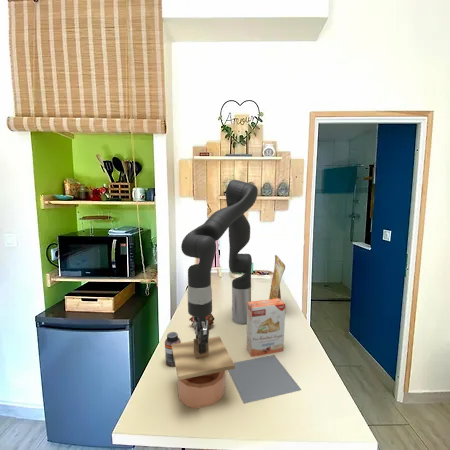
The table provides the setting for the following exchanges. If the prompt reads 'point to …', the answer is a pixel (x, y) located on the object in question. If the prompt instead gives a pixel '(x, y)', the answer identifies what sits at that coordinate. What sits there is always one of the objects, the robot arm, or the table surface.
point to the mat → (262, 379)
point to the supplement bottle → (170, 347)
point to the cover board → (201, 358)
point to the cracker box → (265, 326)
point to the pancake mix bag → (277, 279)
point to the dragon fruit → (209, 317)
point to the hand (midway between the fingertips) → (201, 348)
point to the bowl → (202, 389)
